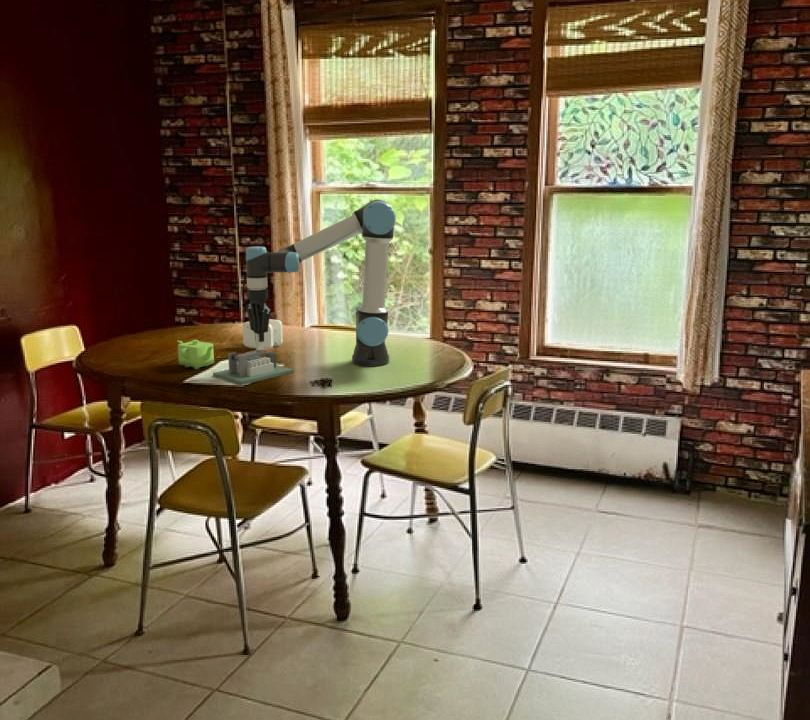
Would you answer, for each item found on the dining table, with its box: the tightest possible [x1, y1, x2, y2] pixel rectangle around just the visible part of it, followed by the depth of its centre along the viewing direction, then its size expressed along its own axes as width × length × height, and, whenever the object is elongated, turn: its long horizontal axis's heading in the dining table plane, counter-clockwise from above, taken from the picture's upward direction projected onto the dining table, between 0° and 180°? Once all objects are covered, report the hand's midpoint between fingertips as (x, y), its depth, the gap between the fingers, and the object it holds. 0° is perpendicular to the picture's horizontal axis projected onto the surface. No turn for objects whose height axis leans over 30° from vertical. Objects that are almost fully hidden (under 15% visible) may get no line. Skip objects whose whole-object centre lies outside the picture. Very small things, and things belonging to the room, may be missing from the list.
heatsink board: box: [212, 351, 294, 386], centre depth 298 cm, size 18×24×9 cm
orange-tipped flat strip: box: [232, 347, 276, 361], centre depth 297 cm, size 5×17×2 cm, turn 138°
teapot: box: [176, 339, 215, 370], centre depth 309 cm, size 15×13×11 cm
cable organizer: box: [242, 318, 284, 349], centre depth 342 cm, size 15×11×12 cm
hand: (260, 349), depth 300 cm, fingers closed
